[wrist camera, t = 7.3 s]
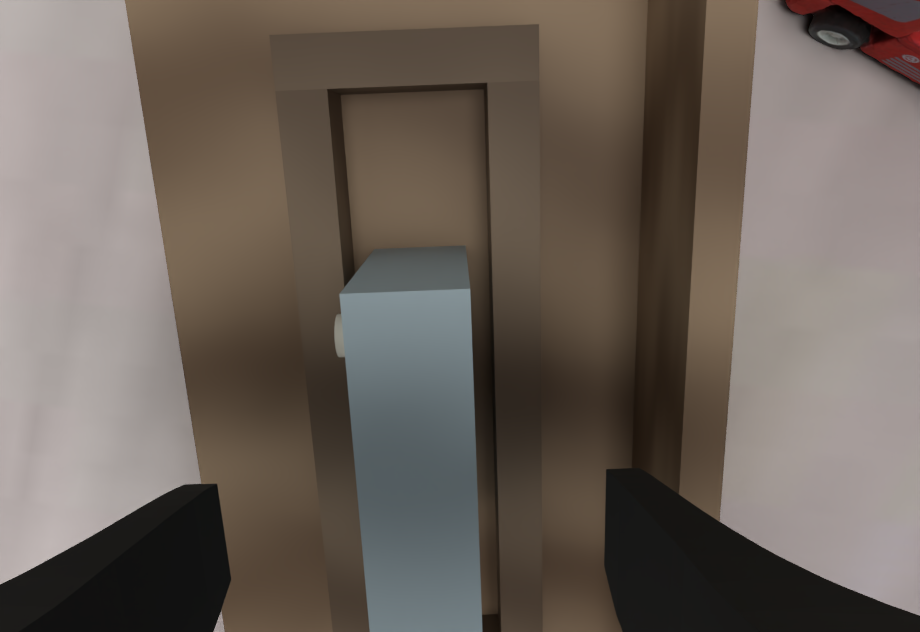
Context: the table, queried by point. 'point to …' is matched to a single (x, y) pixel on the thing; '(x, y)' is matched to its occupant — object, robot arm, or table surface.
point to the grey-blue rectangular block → (414, 437)
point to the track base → (488, 256)
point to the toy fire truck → (869, 29)
